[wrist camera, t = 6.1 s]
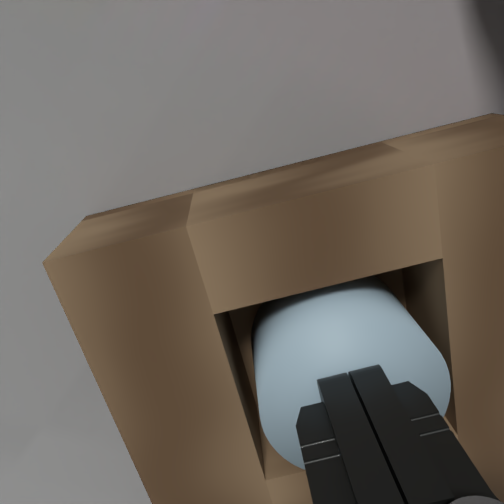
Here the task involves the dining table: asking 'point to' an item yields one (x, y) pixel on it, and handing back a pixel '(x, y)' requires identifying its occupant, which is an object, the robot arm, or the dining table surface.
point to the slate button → (335, 351)
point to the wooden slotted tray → (282, 285)
